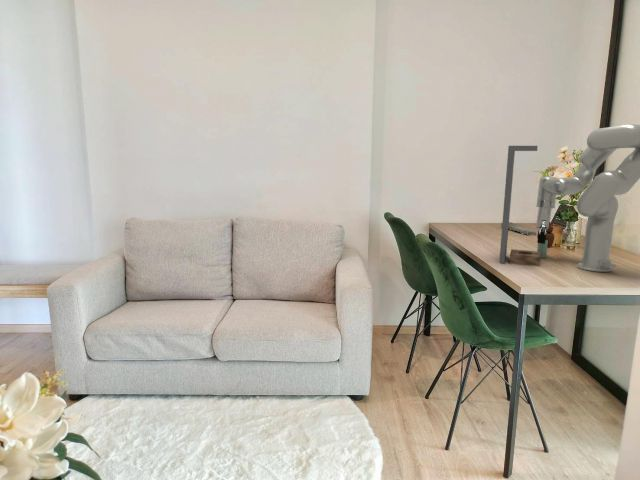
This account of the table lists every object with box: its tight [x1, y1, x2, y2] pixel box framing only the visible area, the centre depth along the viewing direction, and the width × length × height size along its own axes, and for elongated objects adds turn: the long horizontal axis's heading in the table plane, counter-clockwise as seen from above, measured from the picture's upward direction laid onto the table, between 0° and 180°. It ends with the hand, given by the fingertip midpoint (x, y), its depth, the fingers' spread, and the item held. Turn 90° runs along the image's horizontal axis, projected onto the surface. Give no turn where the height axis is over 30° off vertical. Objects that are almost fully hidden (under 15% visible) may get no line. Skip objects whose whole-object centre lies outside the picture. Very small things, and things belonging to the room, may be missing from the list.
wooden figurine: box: [546, 221, 555, 248], centre depth 245 cm, size 7×6×15 cm
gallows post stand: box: [499, 145, 538, 264], centre depth 208 cm, size 11×16×50 cm
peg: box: [536, 240, 548, 259], centre depth 220 cm, size 4×4×8 cm
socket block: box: [508, 248, 541, 267], centre depth 211 cm, size 12×12×4 cm
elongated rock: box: [500, 221, 537, 236], centre depth 296 cm, size 35×5×10 cm
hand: (541, 241), depth 220 cm, fingers open, 9 cm apart
